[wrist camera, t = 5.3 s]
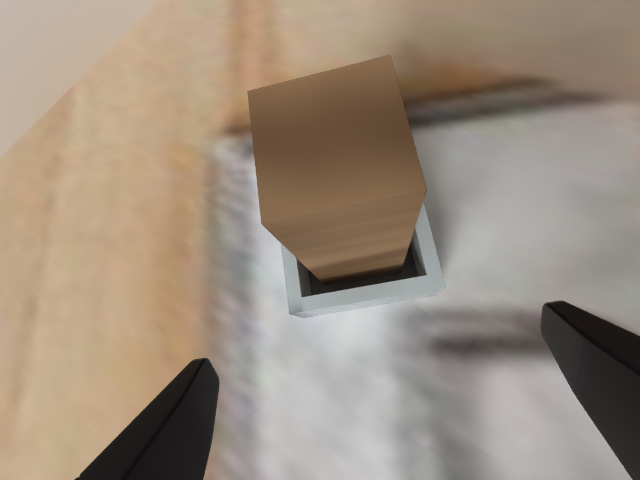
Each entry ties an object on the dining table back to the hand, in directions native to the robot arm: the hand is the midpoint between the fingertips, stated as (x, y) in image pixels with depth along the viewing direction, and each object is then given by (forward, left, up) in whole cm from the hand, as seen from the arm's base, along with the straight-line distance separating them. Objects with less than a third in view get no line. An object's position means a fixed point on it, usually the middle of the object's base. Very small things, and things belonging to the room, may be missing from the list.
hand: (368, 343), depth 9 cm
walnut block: (+1, -6, -13) cm, 14 cm away
